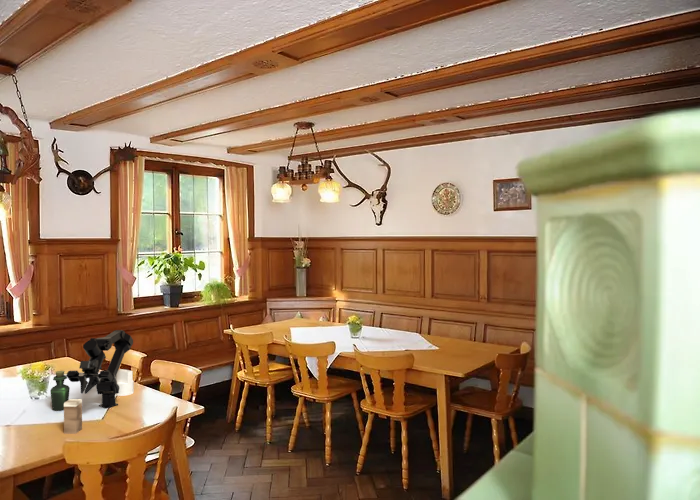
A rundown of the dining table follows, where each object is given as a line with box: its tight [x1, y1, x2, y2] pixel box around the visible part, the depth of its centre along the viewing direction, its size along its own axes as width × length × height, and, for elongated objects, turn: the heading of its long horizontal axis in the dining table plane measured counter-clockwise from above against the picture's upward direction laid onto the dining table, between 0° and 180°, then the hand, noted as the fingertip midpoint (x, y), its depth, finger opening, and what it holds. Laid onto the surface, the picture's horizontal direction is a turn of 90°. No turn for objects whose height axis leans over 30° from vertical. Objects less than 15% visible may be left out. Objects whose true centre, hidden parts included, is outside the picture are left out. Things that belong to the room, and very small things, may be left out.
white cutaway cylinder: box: [115, 368, 135, 397], centre depth 270 cm, size 9×9×12 cm
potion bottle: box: [50, 370, 71, 412], centre depth 245 cm, size 8×8×18 cm
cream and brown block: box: [63, 398, 83, 435], centre depth 217 cm, size 5×5×13 cm
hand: (83, 393), depth 226 cm, fingers closed
